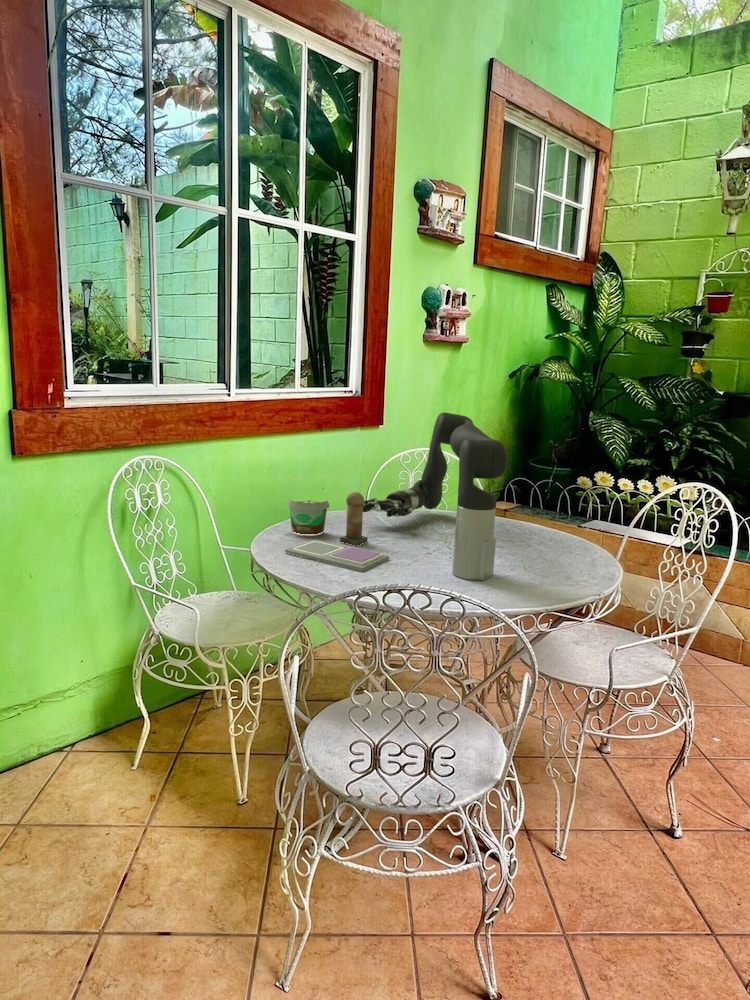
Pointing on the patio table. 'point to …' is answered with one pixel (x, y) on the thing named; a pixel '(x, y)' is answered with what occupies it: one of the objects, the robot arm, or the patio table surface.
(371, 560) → the stamping board
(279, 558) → the patio table surface
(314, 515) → the food container
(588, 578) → the patio table surface
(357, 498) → the stamp
